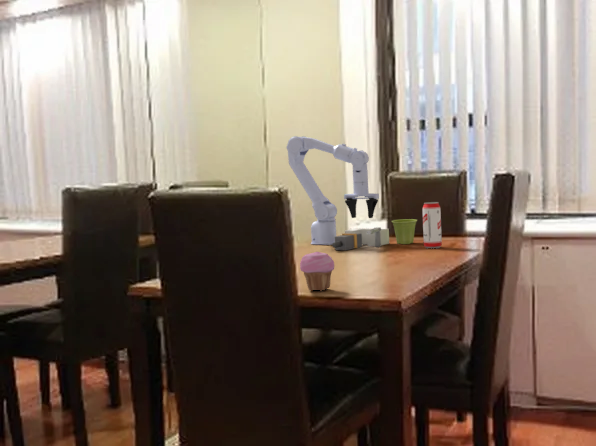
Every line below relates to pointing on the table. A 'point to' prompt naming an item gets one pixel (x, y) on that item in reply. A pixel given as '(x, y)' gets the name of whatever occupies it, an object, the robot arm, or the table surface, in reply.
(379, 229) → the flat metal lever
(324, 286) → the cupcake
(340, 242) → the plug
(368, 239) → the socket block
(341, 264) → the table surface
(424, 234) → the beer can
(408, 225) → the plant pot
